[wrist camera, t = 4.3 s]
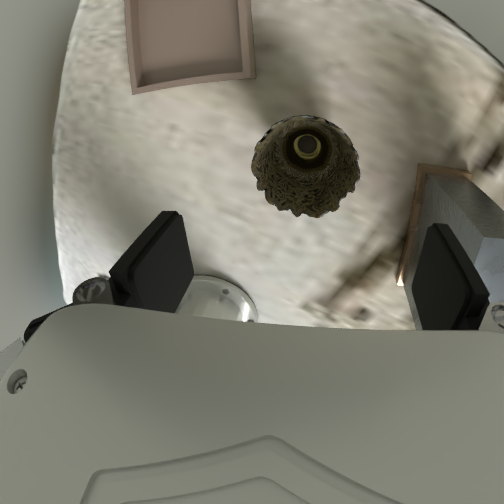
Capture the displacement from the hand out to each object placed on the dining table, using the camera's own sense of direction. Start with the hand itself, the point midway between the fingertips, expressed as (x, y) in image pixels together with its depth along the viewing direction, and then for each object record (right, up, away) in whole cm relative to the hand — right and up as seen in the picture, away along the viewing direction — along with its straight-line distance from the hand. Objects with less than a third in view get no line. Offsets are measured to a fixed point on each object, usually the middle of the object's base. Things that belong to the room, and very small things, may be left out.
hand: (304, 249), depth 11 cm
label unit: (+17, +2, +17) cm, 24 cm away
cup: (+3, +10, +15) cm, 19 cm away
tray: (-7, +20, +10) cm, 24 cm away
